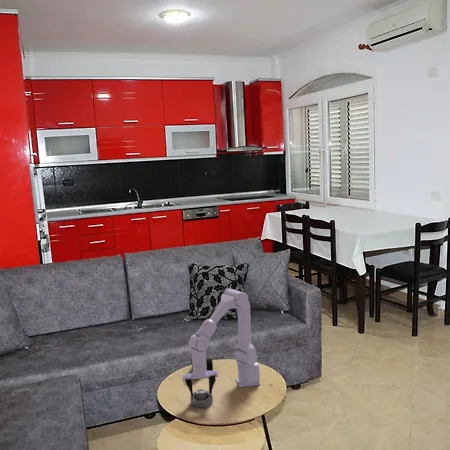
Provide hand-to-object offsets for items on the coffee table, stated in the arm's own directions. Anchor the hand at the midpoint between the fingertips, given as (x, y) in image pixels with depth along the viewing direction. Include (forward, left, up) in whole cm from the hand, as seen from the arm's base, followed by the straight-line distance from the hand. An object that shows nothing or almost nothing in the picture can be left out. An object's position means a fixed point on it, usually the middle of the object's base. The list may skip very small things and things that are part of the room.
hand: (201, 394), depth 193 cm
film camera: (-4, -28, -4) cm, 28 cm away
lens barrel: (0, 0, -4) cm, 4 cm away
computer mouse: (0, 0, -3) cm, 3 cm away
